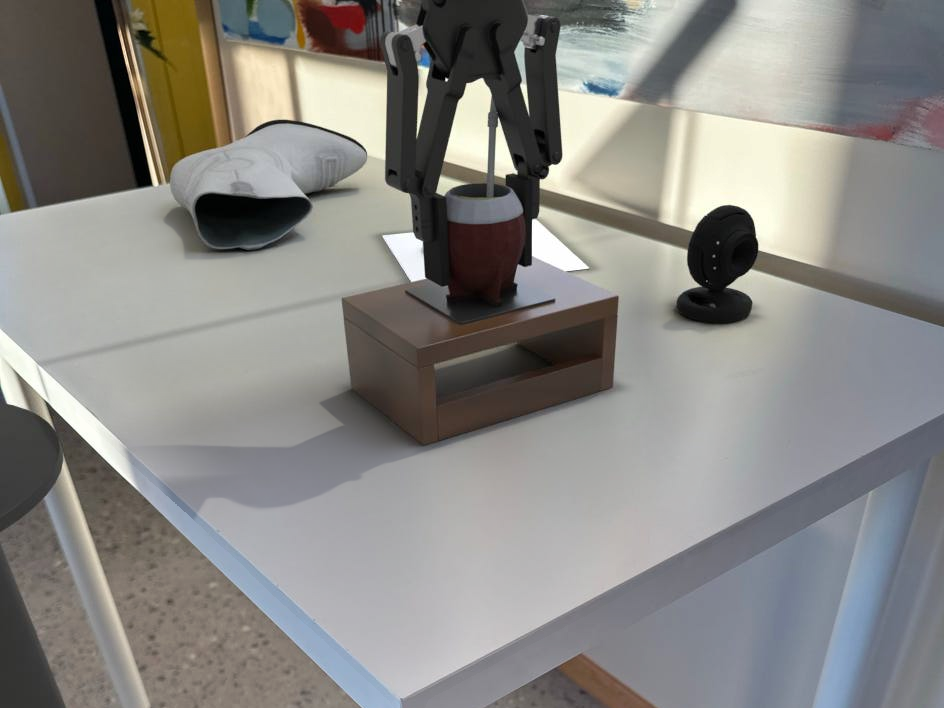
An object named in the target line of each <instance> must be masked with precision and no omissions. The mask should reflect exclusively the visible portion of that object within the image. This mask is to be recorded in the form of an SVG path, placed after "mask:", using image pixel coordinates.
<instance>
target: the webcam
mask: <svg viewBox="0 0 944 708" xmlns="http://www.w3.org/2000/svg"><path fill="white" fill-rule="evenodd" d="M756 231H757V230H756V225H755V221H754V219H753V217H752V215H751V214H750V213H749V212H748V211H747V210H746V209H745V208H742V207H740V206H738V205H733V204H725V205H720V206H717V207H715V208H713V209H712V210H711V211H709V212H708V213H706V214H705V215H704V216H703V217H702V218H701V219H700V220H699V222H697V224H696V226H695V228H694V230H693V232H692V234H691V237H690V239H689V242H688V247H687V251H686V265H687V268H688V271H689V274H690V276H691V278H692V279H693V281H694V282H695V283H696V284H698V285H699V286H697V287H692V288H689V289H686V290H684V291H683V292H682V293H680V295H678V297H677V299H676V301H675V302H676V303H675V304H676V309H677V311H678V312H679V313H680V314H681V315H682V316H684V317H686V318H688V319H691V320H693V321H694V320H695V321H697V322H704V323H715V324H716V323H717V324H718V323H719V324H720V323H721V324H723V323H724V324H725V323H726V324H728V323H735V322H738V321H740V320H743V319H745V318H746V317H748V316H749V315H750V314H751V311H752V310H753V309H752V308H753V300H752V298H751V297H750V296H749V295H748V294H747V293H745V292H743V291H741V290H738V289H735V288H732V287H729V286H730V285H732V284H733V283H734V282H736V280H737V279H739V278H741V277H743V276H744V275H746V274H747V273H748V272H749V271H750V270H751V269H752V268H753V266H754V264H755V262H756V261H757V258H758V254H759V247H760V245H759V241H758V238H757V232H756ZM704 301H705V302H706V301H709V302H711V303H712V304H713V305H714V307H713V306H712V307H711V306H704V305H700V304H697V302H704Z"/></svg>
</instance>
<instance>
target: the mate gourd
mask: <svg viewBox="0 0 944 708" xmlns="http://www.w3.org/2000/svg"><path fill="white" fill-rule="evenodd" d="M498 127H499V117H498V114H497V111H496V107H495V104H494V101H493V98H492V96H491V98H490V106H489V112H488V113H487V128H488V144H487V145H488V147H487V170H486V171H487V172H486V173H487V175H486V182H473V183H472V182H471V183H465V184H460V185H456V186H453V187H452V188H450V189H449V190H447V191H446V192H445V194H444V196H445V197H446V203H447V226H448V248H449V271H450V285H448V289H449V293H450V294H448V295H446V298H447V302H449V303H455V302H461V301H466V300H471V299H477V298H481V299H482V300H484V301H485V302H487V303H488V304H489V305H491V306H492V307H494V308H498V307H502V306H503V301H502V300H501V299H500V298H499V295H500V294H502V293H507V292H512V291H517V286H518V284H517V283H515V282H514V279H515V274H516V270H517V266H518V263H519V261H520V258H521V256H522V252H523V249H524V245H525V237H526V227H525V219H524V215H523V208H522V205H521V202H520V201H519V199H518V197H517V195H516V194H515V192H514V191H513V190H512V189H511V188H509V187H507V186H506V184H499V183H495V171H496V170H495V169H496V167H495V166H496V145H497V144H496V142H497V128H498Z"/></svg>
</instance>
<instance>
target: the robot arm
mask: <svg viewBox="0 0 944 708" xmlns="http://www.w3.org/2000/svg"><path fill="white" fill-rule="evenodd" d="M560 32H561V21H560V20H559V18H558V17H555V16H550V15H542V14H535V13H534V14H529V13H528V9H527V7H526V5H525V1H524V0H419V9H418V13H417V16H416V18H415V24H414V25H412V26H409V27H406V28H404V29H402V30H399V31H398V32H395V31H390V30H386V31H384V32H383V33H382V34H381V35H380V39H379V44H380V49H381V52H382V56H383V60H384V64H385V67H386V112H385V115H386V116H385V155H384V156H385V157H384V158H385V159H384V161H385V162H384V181H385V183H386V185H387V186H389V187H391V188H392V189H395V190H398V191H400V192H401V193H404V194H408V195H409V197H410V206H411V218H412V219H411V220H412V221H411V223H412V232H413V233H414V235H415V237H416V238H417V239H419V240H421V241H423V253H424V270H425V278H427V279H429V280H431V281H432V282H434V283H436V284H438V285H440V286H441V287H443V286H447V285H450V271H449V248H448V226H447V203H446V197H445V195H442V194H441V193H438V192H437V190H438V187H439V182H440V179H441V174H442V170H443V165H444V161H445V158H446V154H447V149H448V146H449V141H450V137H451V134H452V128H453V125H454V121H455V116H456V112H457V108H458V106H459V105H458V104H459V101H460V100H461V99H462V98H463V97H464V94H465V91H466V88H467V85H468V84H472V83H474V82H476V81H479V80H480V79H483V82H484V84H485V85H486V86H487V88H488V89H489V91H490V94H491V97H492V98H493V101H494V104H495V107H496V111H497V114H498V121H499V123H500V126H501V129H502V133H503V136H504V139H505V143H506V146H507V148H508V152H509V155H510V159H511V161H512V164H513V168H514V170H515V171H516V173H514V172H512V173H506V174H505V186H507V187H509V188H511V189H512V190H513V191H514V192H515V194H516V195H517V197H518V199H519V201H520V202H521V205H522V208H523V215H524V219H525V227H526V237H525V245H524V249H523V252H522V256H521V258H520V261H519V263H518V264H519V265H521V266H523V267H527V266H531V265H532V220H535V219H536V220H537V219H538V218H539V214H540V206H541V205H540V200H541V199H540V196H541V180H542V181H543V180H545V179H546V178H548V176H549V174H550V167H551V166H552V165H553V166H557V165H559V164H560V163H561V162H562V160H563V142H562V141H563V140H562V126H561V112H560V98H559V97H560V96H559V82H558V68H557V49H558V44H559V39H560ZM520 41H521V43H522V44H523V46H524V48H523V49H524V51H523V52H524V53H523V59H524V73H525V83H526V94H527V104H526V100H525V97H524V93H523V91H522V86H521V84H522V82H523V78H522V74H521V70H520V67H519V64H518V61H517V57H516V54H515V52H516V49H517V48H518V46H519V43H520ZM422 47H423V48H424V49H425V51H426V52H427V54H428V55H429V57H430V59H431V60H430V64H429V67H428V72H427V76H426V82H425V88H426V97H425V101H424V105H423V110H422V114H421V118H420V122H419V128H418V115H419V113H418V111H419V90H420V89H419V85H420V80H419V79H420V75H419V67H418V64H419V63H420V62H421V61H422V59H423V58H422V57H423V56H422V53H421V51H422ZM446 79H447V80H446ZM527 105H528V106H527Z"/></svg>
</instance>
